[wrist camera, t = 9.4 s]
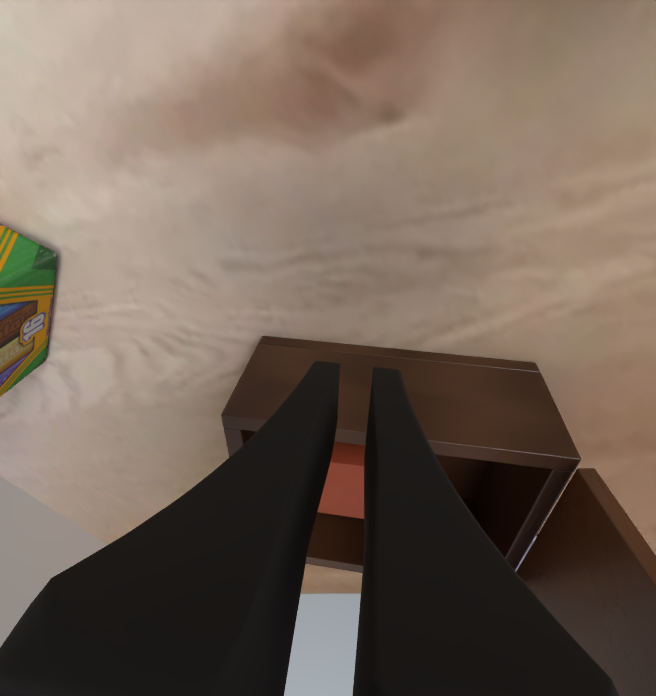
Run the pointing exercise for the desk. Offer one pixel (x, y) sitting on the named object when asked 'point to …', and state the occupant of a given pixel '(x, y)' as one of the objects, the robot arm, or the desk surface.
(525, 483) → the chest
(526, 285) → the desk surface
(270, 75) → the desk surface
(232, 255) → the desk surface
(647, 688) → the chest lid
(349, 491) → the block
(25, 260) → the chalk box
